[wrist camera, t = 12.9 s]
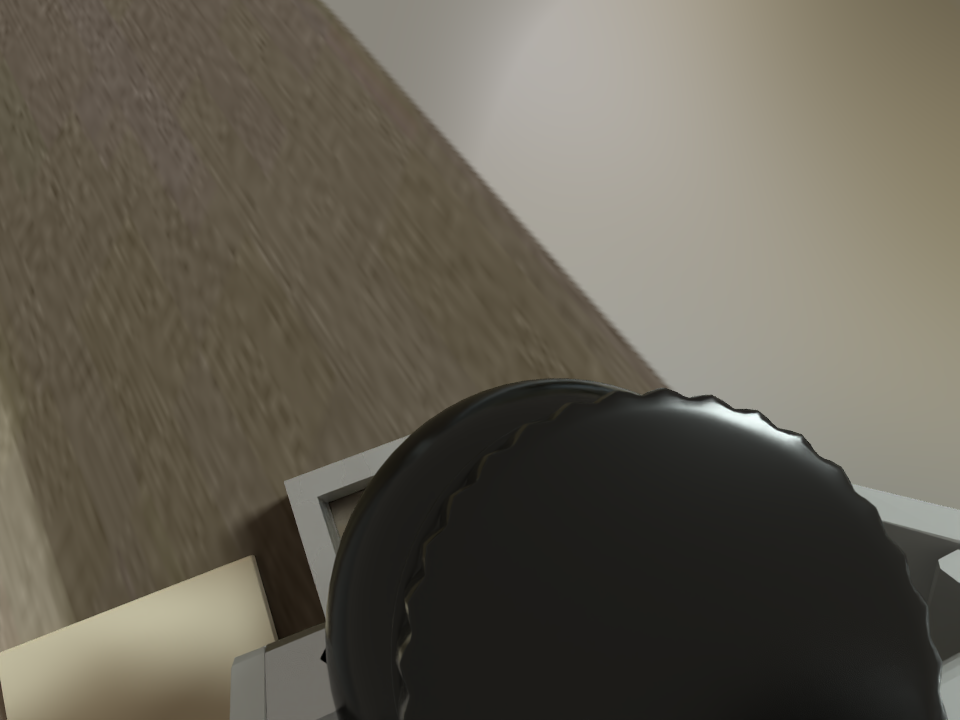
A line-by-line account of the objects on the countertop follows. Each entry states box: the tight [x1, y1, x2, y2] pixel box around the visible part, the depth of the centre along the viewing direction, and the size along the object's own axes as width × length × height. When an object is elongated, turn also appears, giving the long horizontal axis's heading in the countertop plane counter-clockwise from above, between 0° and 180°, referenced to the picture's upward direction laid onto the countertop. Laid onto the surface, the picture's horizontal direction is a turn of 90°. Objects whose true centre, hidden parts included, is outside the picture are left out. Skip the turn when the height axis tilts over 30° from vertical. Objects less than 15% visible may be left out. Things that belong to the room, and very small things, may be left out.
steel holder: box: [284, 435, 410, 618], centre depth 25 cm, size 12×12×3 cm
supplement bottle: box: [325, 378, 948, 720], centre depth 11 cm, size 7×7×12 cm
